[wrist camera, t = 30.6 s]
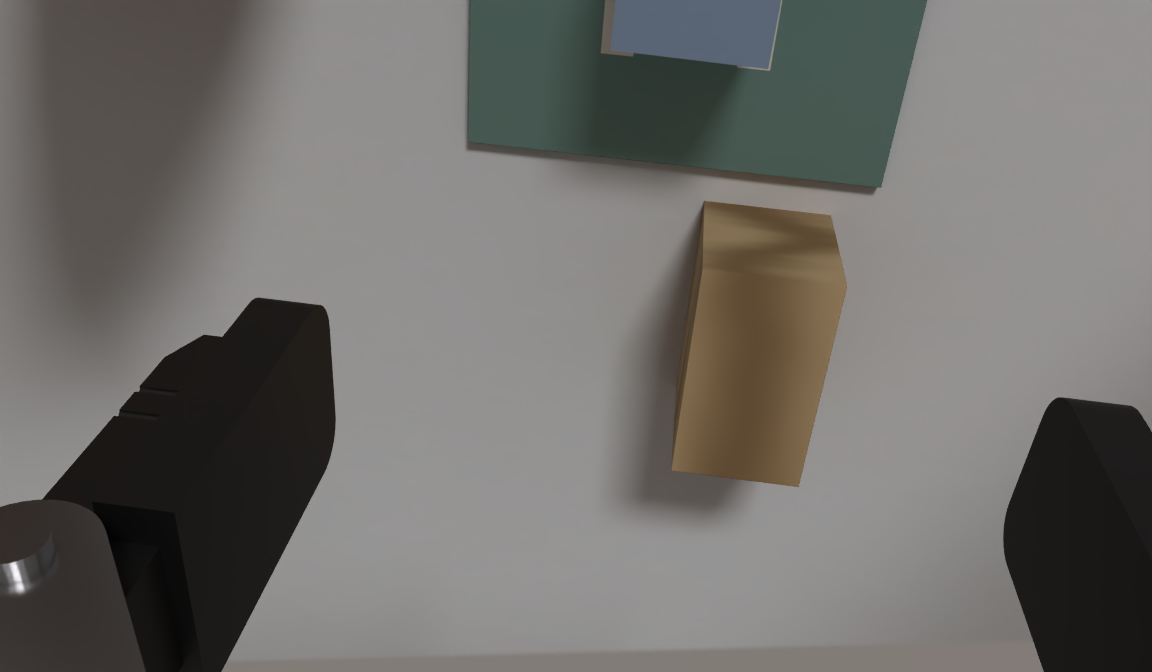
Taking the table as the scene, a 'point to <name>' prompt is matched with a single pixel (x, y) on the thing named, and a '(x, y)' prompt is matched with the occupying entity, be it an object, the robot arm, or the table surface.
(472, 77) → the letter board
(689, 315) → the block
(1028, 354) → the table surface
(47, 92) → the table surface
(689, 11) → the blue cube
